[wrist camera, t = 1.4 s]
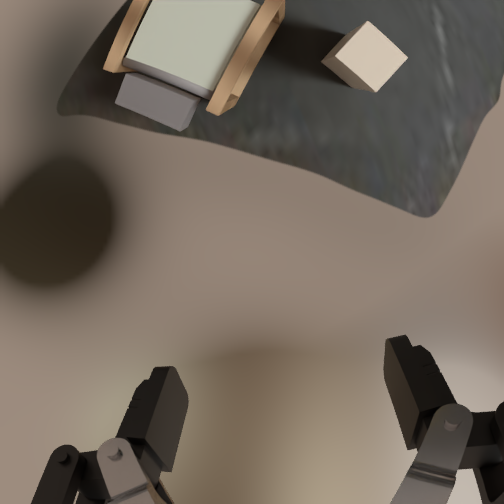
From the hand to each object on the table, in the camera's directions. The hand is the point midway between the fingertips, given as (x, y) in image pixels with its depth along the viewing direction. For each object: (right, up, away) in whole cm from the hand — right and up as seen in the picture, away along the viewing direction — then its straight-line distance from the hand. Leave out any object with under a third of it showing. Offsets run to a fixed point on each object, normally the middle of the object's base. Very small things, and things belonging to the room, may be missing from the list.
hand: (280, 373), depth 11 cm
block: (+10, +25, +18) cm, 33 cm away
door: (-7, +23, +13) cm, 27 cm away
